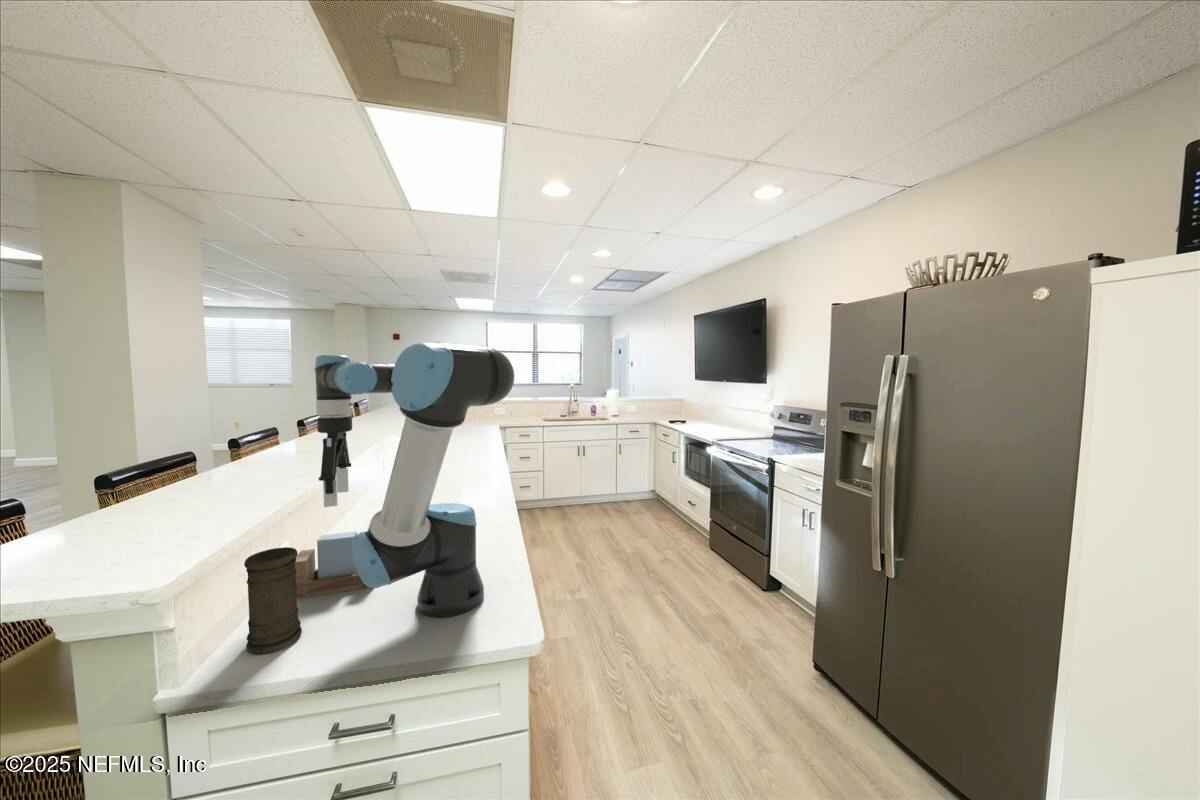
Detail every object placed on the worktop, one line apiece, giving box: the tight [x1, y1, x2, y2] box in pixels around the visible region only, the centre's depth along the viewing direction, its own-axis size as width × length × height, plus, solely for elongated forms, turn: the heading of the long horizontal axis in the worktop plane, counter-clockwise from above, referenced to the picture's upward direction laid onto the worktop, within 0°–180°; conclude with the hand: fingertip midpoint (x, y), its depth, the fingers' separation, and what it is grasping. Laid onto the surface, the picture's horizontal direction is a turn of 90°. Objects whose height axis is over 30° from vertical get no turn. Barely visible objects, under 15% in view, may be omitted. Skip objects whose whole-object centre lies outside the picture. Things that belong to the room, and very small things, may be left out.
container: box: [243, 546, 303, 656], centre depth 84 cm, size 9×9×18 cm
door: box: [316, 531, 358, 579], centre depth 107 cm, size 4×8×12 cm, turn 111°
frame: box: [295, 548, 369, 599], centre depth 108 cm, size 8×18×9 cm, turn 111°
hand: (337, 498), depth 107 cm, fingers open, 13 cm apart
